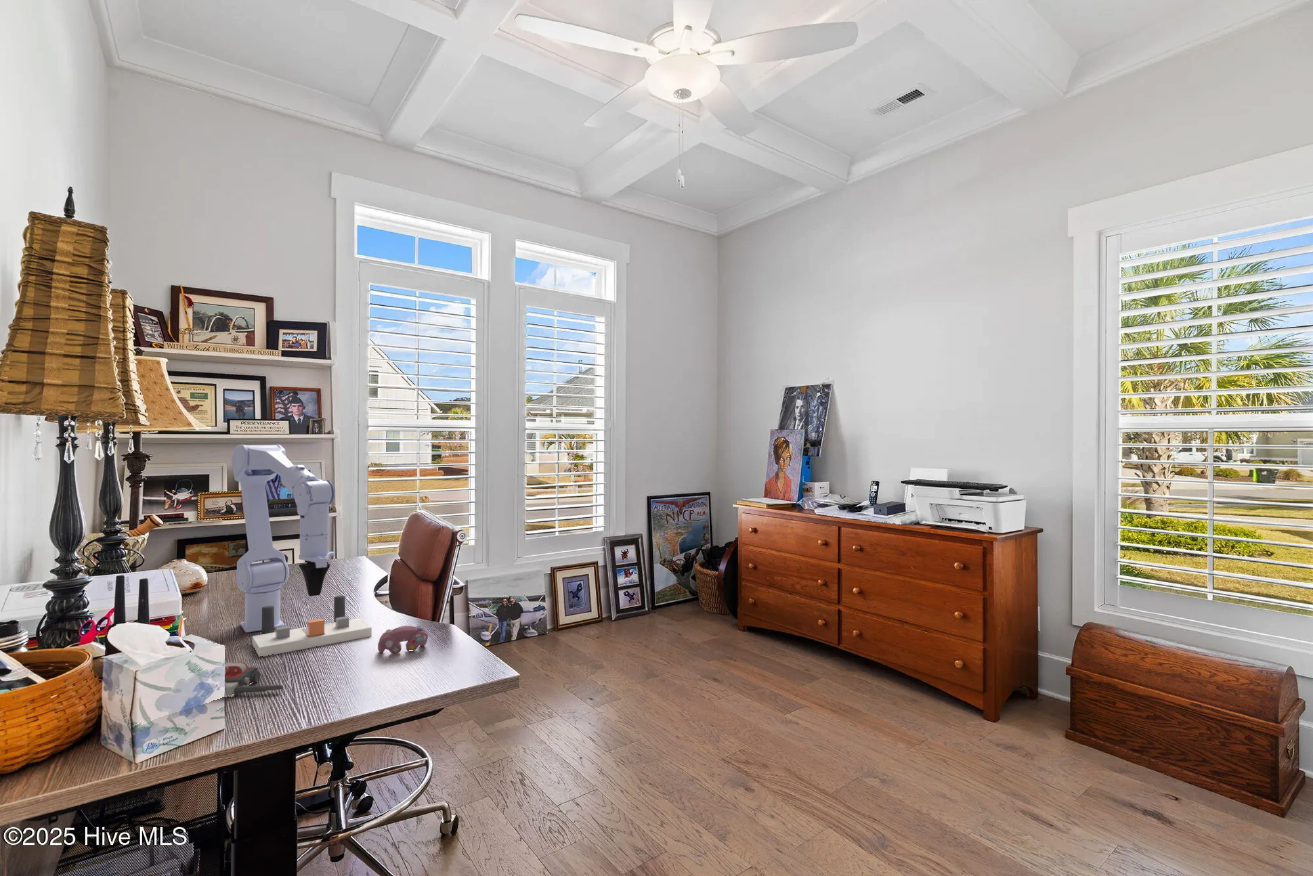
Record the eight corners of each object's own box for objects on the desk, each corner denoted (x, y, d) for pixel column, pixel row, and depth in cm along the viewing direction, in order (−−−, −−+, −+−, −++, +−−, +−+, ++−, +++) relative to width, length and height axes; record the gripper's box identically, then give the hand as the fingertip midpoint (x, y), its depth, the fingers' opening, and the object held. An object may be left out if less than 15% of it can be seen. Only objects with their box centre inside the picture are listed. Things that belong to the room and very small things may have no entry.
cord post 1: (260, 637, 144) (261, 606, 144) (273, 635, 145) (273, 605, 145) (262, 640, 142) (262, 609, 142) (274, 638, 143) (275, 607, 143)
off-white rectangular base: (252, 645, 138) (252, 627, 138) (359, 626, 152) (359, 609, 152) (259, 657, 130) (259, 637, 131) (371, 636, 145) (371, 618, 145)
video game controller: (378, 664, 131) (379, 638, 128) (376, 648, 135) (378, 623, 132) (428, 656, 136) (430, 631, 133) (425, 641, 139) (427, 616, 137)
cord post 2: (332, 625, 153) (333, 596, 153) (343, 623, 155) (343, 595, 155) (335, 627, 151) (335, 598, 151) (346, 625, 153) (346, 596, 153)
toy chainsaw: (156, 703, 108) (280, 697, 111) (156, 677, 108) (280, 672, 111) (187, 684, 117) (301, 679, 120) (187, 660, 117) (302, 656, 120)
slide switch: (307, 634, 139) (307, 620, 139) (322, 631, 141) (322, 618, 141) (309, 636, 138) (309, 622, 138) (324, 633, 140) (324, 620, 140)
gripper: (342, 536, 138) (342, 598, 138) (326, 529, 149) (326, 586, 149) (305, 539, 133) (305, 603, 133) (292, 532, 144) (292, 591, 144)
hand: (314, 595), depth 141 cm, fingers closed
